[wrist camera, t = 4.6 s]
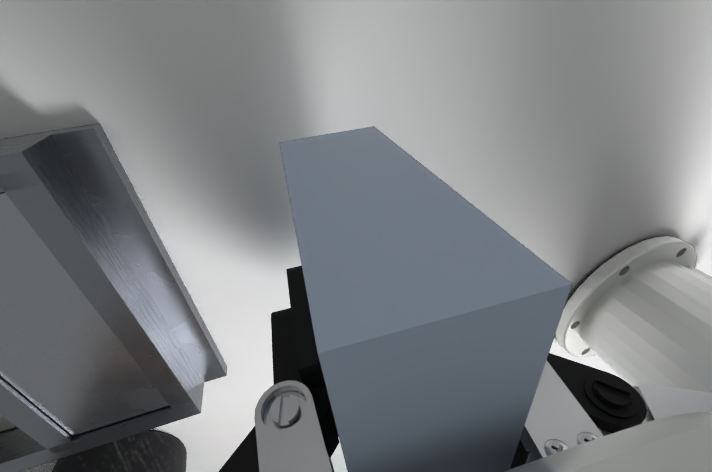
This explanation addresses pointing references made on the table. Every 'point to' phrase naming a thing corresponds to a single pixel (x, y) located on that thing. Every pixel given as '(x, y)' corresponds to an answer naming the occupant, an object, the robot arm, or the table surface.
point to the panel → (416, 308)
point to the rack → (87, 305)
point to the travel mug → (130, 455)
